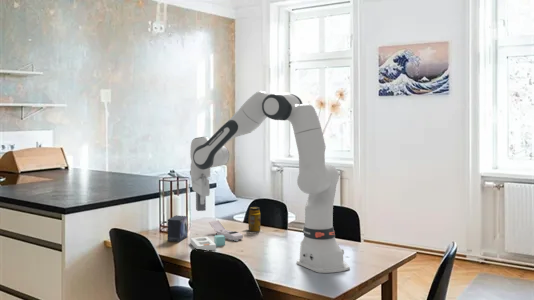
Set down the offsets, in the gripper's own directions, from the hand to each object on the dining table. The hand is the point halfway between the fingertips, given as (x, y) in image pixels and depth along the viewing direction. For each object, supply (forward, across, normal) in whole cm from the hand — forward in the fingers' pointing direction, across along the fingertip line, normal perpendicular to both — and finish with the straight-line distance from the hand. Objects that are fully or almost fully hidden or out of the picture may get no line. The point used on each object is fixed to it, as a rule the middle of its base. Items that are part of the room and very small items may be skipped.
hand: (200, 203), depth 238 cm
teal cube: (+19, -2, -8) cm, 21 cm away
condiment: (+19, +18, -31) cm, 41 cm away
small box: (+19, +14, +8) cm, 25 cm away
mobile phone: (+20, +12, -15) cm, 27 cm away
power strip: (+19, -4, 0) cm, 19 cm away
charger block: (+3, 0, 0) cm, 3 cm away
